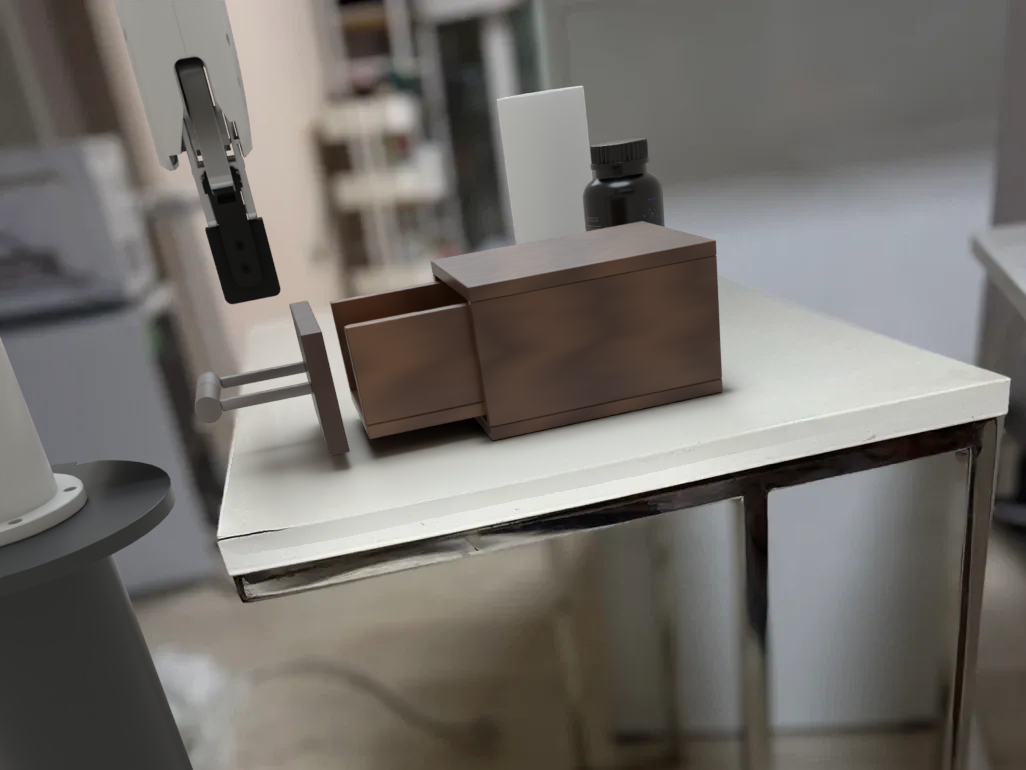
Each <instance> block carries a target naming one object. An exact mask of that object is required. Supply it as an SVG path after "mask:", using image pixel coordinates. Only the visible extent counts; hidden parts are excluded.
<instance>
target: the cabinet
mask: <svg viewBox="0 0 1026 770" xmlns="http://www.w3.org/2000/svg"><path fill="white" fill-rule="evenodd" d="M717 257H718V256H717V240H715V239H711V238H708V237H705V236H700V235H697V234H693V233H689V232H685V231H682V230H677V229H673V228H670V227H667V226H665V227H663V226H659V225H655V224H651V223H647V222H644V221H641V222H635V223H630V224H624V225H619V226H614V227H608V228H603V229H598V230H592V231H587V232H581V233H576V234H571V235H565V236H560V237H555V238H549V239H544V240H538V241H533V242H528V243H522V244H517V245H516V244H512V245H511V244H510V245H507V246H501V247H496V248H491V249H486V250H480V251H475V252H474V251H473V252H469V253H462V254H459V255H453V256H447V257H442V258H437V259H432V260H430V266H431V273H432V279H433V282H435V281H441V280H442V281H443V282H445V283H446V284H447V285H449V286H450V287H451V288H453V289H454V290H455V291H456V292H458V293H459V294H460V295H462V296H463V297H464V298H465V299H467V300H468V305H469V312H470V318H471V324H472V330H473V336H474V342H475V349H476V355H477V361H478V367H479V373H480V379H481V386H482V392H483V398H484V404H485V410H486V415H483V416H478V417H473V418H474V419H475V421H476V422H477V423H478V424H479V425H480V427H481V428H482V430H483V431H484V432H485V433H486V434H487V435H488V437H489V438H490V439H491V440H492V441H497V440H501V439H506V438H511V437H515V436H520V435H525V434H529V433H534V432H540V431H544V430H549V429H554V428H558V427H563V426H568V425H572V424H577V423H582V422H586V421H591V420H595V419H600V418H605V417H609V416H615V415H619V414H624V413H628V412H634V411H638V410H642V409H643V410H644V409H647V408H652V407H656V406H660V405H666V404H671V403H676V402H681V401H684V400H689V399H694V398H699V397H703V396H708V395H709V396H710V395H713V394H718V393H722V392H724V391H723V390H724V389H723V369H722V368H723V367H722V346H721V345H722V344H721V323H720V302H719V278H718V263H717V262H718V259H717Z"/></svg>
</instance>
